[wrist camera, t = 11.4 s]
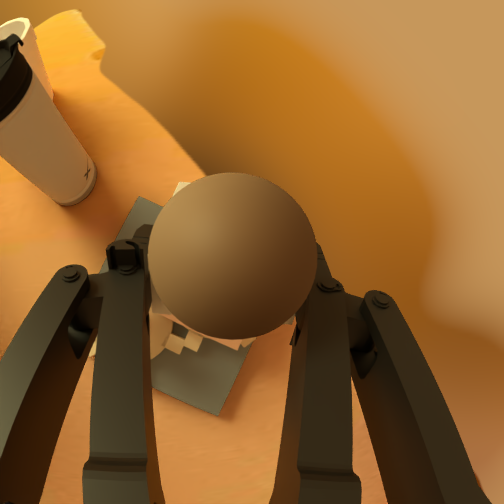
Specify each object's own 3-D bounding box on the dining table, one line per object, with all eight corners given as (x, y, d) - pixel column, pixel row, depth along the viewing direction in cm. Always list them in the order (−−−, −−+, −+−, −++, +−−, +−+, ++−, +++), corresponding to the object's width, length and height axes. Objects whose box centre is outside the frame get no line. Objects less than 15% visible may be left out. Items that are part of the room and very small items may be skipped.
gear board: (73, 338, 28) (30, 344, 19) (138, 199, 31) (116, 162, 23) (217, 411, 28) (220, 446, 20) (283, 267, 32) (308, 250, 23)
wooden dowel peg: (177, 305, 19) (119, 292, 7) (205, 246, 19) (196, 149, 8) (237, 334, 19) (277, 366, 7) (264, 274, 20) (339, 215, 8)
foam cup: (31, 77, 33) (-2, 21, 20) (75, 80, 33) (45, 14, 21) (-2, 129, 31) (-48, 78, 18) (40, 137, 31) (-8, 77, 19)
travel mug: (110, 175, 31) (32, 47, 12) (68, 217, 30) (-47, 124, 11) (81, 144, 32) (7, 23, 12) (41, 183, 30) (-59, 86, 11)
